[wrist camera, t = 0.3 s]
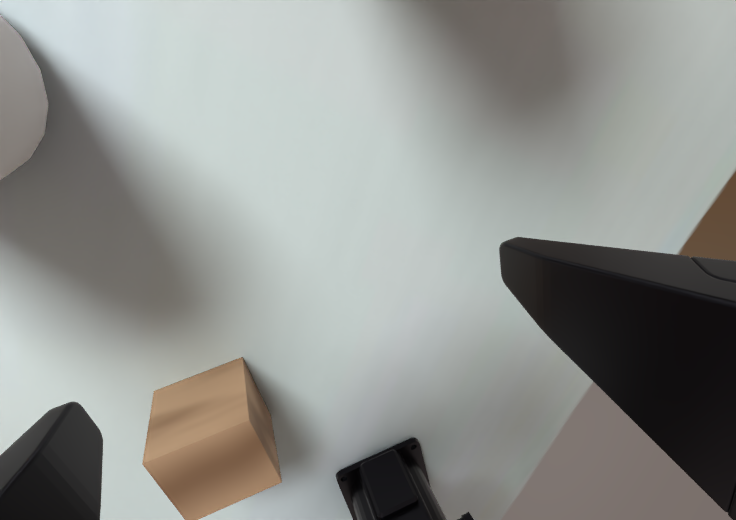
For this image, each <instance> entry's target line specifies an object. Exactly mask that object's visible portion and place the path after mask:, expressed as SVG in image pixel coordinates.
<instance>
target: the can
mask: <svg viewBox="0 0 736 520" xmlns="http://www.w3.org/2000/svg"><path fill="white" fill-rule="evenodd" d="M48 105H49V104H48V99H47V95H46V91H45V86H44V82H43V78H42V73H41V70H40V68H39V66H38V65H37V63H36V61H35V59H34V58H33V56H32V54H31V53H30V51H29V49H28V47H27V46H26V44H25V42H24V40H23V39H22V37H21V35H20V34H19V33H18V32H17V31H16V30H15V29H14V28H13V27H12V26H11V25H10V24H9V23H8V22H7V21H6V20H5V19H4V18H3V17H2V16H1V15H0V180H2V179H3V178H5V177H6V176H8V175H9V174H10V173H12V172H13V171H14V170H16V169H17V168H18V167H20V166H21V165H23V164H24V163H25V162H27V161H28V160H29V159H30V158H31V156H32V155H33V153H34V151H35V150H36V148H37V146H38V145H39V143H40V141H41V140H42V138H43V136H44V135H45V128H46V120H47V113H48Z"/></svg>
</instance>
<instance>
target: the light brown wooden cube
mask: <svg viewBox="0 0 736 520" xmlns="http://www.w3.org/2000/svg"><path fill="white" fill-rule="evenodd" d="M142 464H143V466H144V467H145V468H146V469H147V471H148V472H149V473H150V475H151V476H152V477H153V479H154V480H155V481H156V482H157V484H158V485H159V486H160V488H161V489H162V490H163V492H164V493H165V494H166V495H167V497H168V498H169V499H170V501H171V502H172V503H173V505H174V506H175V507H176V508H177V510H178V511H179V512H180V514H181V515H182V516H183V518H184V519H185V520H198V519H200V518H202V517H205V516H207V515H209V514H211V513H214V512H216V511H218V510H220V509H223V508H225V507H227V506H229V505H232V504H234V503H236V502H238V501H241V500H243V499H245V498H247V497H250V496H252V495H254V494H256V493H259V492H261V491H263V490H265V489H268V488H270V487H272V486H274V485H277V484H279V483H281V482H282V480H281V474H280V468H279V462H278V456H277V450H276V444H275V438H274V432H273V426H272V420H271V415H270V413H269V411H268V409H267V407H266V405H265V403H264V401H263V399H262V397H261V394H260V392H259V390H258V388H257V386H256V384H255V382H254V380H253V378H252V376H251V374H250V372H249V370H248V368H247V366H246V364H245V362H244V359H243V357H241V358H239V359H236V360H233V361H231V362H228V363H226V364H223V365H220V366H218V367H215V368H213V369H210V370H208V371H205V372H202V373H200V374H197V375H195V376H192V377H189V378H187V379H184V380H182V381H179V382H176V383H174V384H171V385H169V386H166V387H164V388H161V389H158V390H156V391H154V395H153V401H152V407H151V413H150V420H149V426H148V432H147V438H146V445H145V451H144V457H143V463H142Z"/></svg>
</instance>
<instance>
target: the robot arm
mask: <svg viewBox="0 0 736 520" xmlns="http://www.w3.org/2000/svg"><path fill="white" fill-rule="evenodd" d="M499 252H500V264H501V275H502V279H503V281H504V283H505V285H506V286H507V287H508V289H509V290H510V291H511V292H512V294H513V295H514V296H515V297H516V298H517V300H518V301H519V302H520V303H521V305H522V306H523V307H524V308H525V310H526V311H527V312H528V313H529V315H530V316H531V317H532V318H533V320H534V321H535V322H536V323H537V324H538V326H539V327H540V328H541V329H542V330H543V331H544V332H545V334H546V335H547V336H548V337H549V338H550V339H551V340H552V341H553V342H554V343H555V344H556V345H557V346H558V347H559V348H560V349H561V350H562V351H563V352H564V353H565V354H566V355H567V356H568V357H569V358H570V359H571V360H572V361H573V362H574V363H575V364H576V365H577V366H579V367H580V368H581V369H582V370H583V371H584V372H585V373H586V374H587V375H588V376H589V377H590V378H591V379H592V380H593V381H594V382H595V383H596V384H597V385H598V386H599V387H600V388H601V389H602V390H603V391H604V392H605V393H606V394H607V395H608V396H609V397H610V398H611V399H612V400H613V401H614V402H615V403H616V404H617V405H618V406H619V407H620V408H621V409H622V410H623V411H624V412H625V413H626V414H627V415H628V416H629V417H630V418H631V419H632V420H633V421H634V422H635V423H636V424H637V425H638V426H639V427H640V428H641V429H642V430H643V431H644V432H645V433H646V434H647V435H648V436H649V437H650V438H651V439H652V440H653V441H654V442H655V443H656V444H657V445H658V446H659V447H660V448H661V449H662V450H663V451H664V452H666V453H667V455H668V456H669V457H670V458H672V460H673V461H675V463H676V464H677V465H679V466H680V467H681V468H682V469H683V470H684V471H685V472H686V473H687V474H688V475H689V476H690V477H691V478H692V479H693V480H694V481H695V482H696V483H697V484H698V485H699V486H700V487H701V488H702V489H703V490H704V491H705V492H706V493H707V494H708V495H709V496H710V497H711V498H712V499H713V500H714V501H715V502H716V503H717V504H718V505H719V506H720V507H721V508H722V509H723V510H724V511H725V512H728V515H729V516H730V517H731V518H732V519H733V520H736V261H730V260H720V259H711V258H702V257H692V258H690V257H689V256H683V255H674V254H665V253H657V252H648V251H639V250H630V249H621V248H612V247H603V246H594V245H585V244H576V243H567V242H558V241H549V240H540V239H531V238H522V237H516V238H513V239H510V240H508V241H505V242H503V243H502V244H501V245H500V248H499ZM102 456H103V438H102V434H101V432H100V430H99V428H98V427H97V426H96V424H95V423H94V422H93V420H92V419H91V418H90V416H89V415H88V414H87V412H86V411H85V410H84V408H83V407H82V406H81V405H80V404H79V403H77V402H69V403H66V404H64V405H61V406H58V407H56V408H53V409H51V410H49V411H48V412H47V413H46V414H45V415H44V416H43V417H42V418H40V419H39V420H38V421H37V422H36V423H35V424H34V425H33V426H32V427H31V428H30V429H29V430H27V431H26V432H25V433H24V434H23V435H22V436H21V437H20V438H19V439H18V440H17V441H16V442H14V443H13V444H12V445H11V446H10V447H9V448H8V449H7V450H6V451H5V452H4V453H3V454H1V455H0V520H100V508H101V483H102ZM336 479H337V482H338V484H339V487H340V489H341V491H342V494H343V496H344V499H345V501H346V503H347V506H348V508H349V510H350V513H351V515H352V518H353V520H446V518H445V516H444V514H443V512H442V510H441V508H440V506H439V504H438V502H437V500H436V498H435V496H434V494H433V492H432V490H431V488H430V484H429V480H428V476H427V472H426V468H425V464H424V459H423V455H422V451H421V447H420V444H419V442H418V440H417V439H416V438H411V439H408V440H406V441H404V442H402V443H400V444H397V445H395V446H393V447H391V448H389V449H386V450H384V451H382V452H380V453H378V454H375V455H373V456H371V457H369V458H366V459H364V460H362V461H360V462H358V463H355V464H353V465H351V466H349V467H347V468H344V469H342V470H340V471H339V472H338V473H337V474H336ZM458 520H474V519H473V518H472V516H471V515H470V513H469V512H468V513H466V514H464V515H462V518H460V519H458Z"/></svg>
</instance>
